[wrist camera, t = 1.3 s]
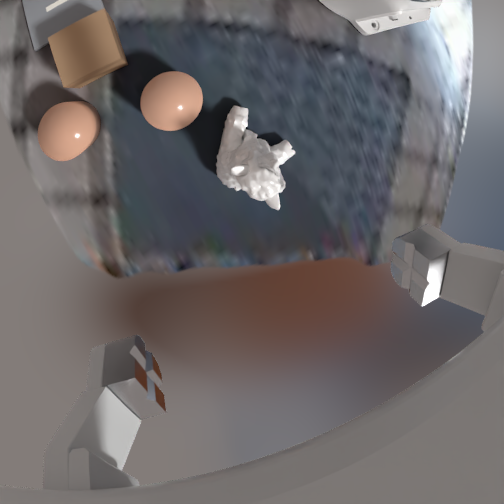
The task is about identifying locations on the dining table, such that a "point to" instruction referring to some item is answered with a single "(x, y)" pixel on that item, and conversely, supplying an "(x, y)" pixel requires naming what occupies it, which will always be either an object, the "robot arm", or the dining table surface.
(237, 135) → the seated beast figurine
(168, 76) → the rounded tan cylinder
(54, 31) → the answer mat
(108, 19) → the walnut cube
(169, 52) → the dining table surface
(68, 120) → the peach rounded cylinder
